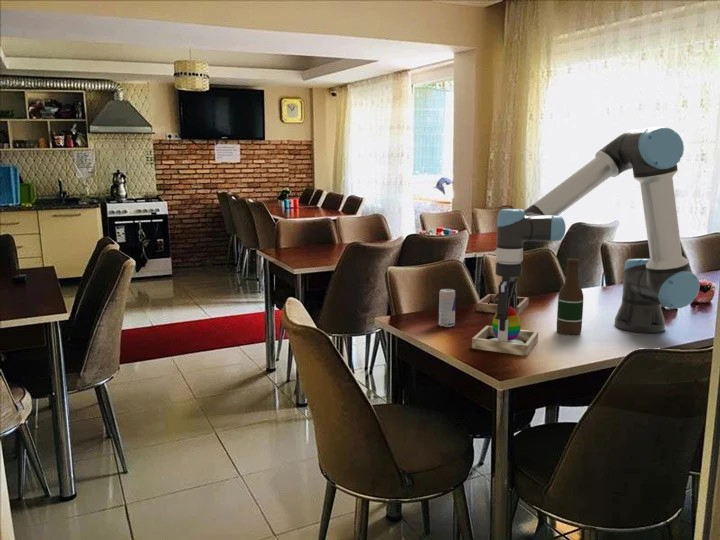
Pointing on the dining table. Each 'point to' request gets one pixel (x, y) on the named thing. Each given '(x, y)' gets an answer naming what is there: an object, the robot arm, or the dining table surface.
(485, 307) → the weathered wood tray
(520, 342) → the pad
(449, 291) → the energy drink
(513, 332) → the decorative egg
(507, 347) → the shallow wooden tray
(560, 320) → the beer bottle
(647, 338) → the dining table surface
